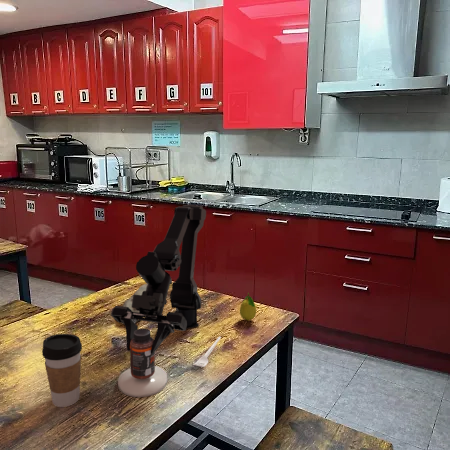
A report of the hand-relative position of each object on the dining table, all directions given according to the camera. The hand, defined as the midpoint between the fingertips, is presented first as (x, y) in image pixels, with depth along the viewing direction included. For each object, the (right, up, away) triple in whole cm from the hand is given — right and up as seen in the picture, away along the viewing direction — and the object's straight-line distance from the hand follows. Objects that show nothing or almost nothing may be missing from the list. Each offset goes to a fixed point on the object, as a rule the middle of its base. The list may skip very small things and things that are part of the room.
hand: (139, 351), depth 101 cm
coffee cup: (-16, -10, -4) cm, 20 cm away
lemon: (+28, -2, +38) cm, 48 cm away
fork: (+16, -6, +18) cm, 25 cm away
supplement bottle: (0, -6, +3) cm, 7 cm away
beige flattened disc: (0, -9, +3) cm, 9 cm away
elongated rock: (-10, +1, +50) cm, 51 cm away
